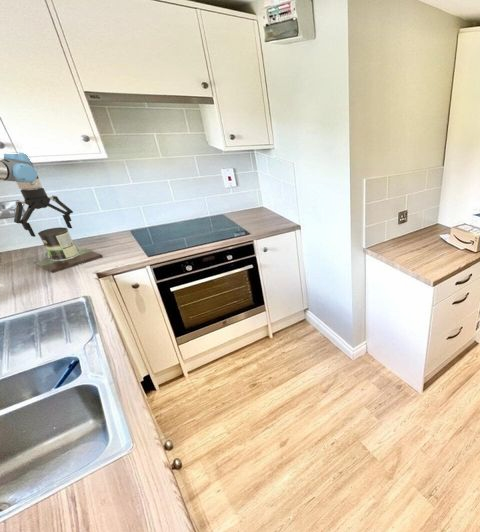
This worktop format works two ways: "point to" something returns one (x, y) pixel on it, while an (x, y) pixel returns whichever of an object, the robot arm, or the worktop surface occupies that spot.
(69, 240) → the coffee can
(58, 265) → the serving board
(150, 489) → the worktop surface
